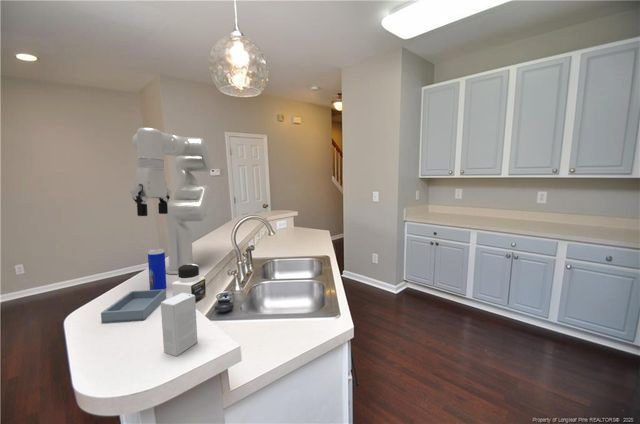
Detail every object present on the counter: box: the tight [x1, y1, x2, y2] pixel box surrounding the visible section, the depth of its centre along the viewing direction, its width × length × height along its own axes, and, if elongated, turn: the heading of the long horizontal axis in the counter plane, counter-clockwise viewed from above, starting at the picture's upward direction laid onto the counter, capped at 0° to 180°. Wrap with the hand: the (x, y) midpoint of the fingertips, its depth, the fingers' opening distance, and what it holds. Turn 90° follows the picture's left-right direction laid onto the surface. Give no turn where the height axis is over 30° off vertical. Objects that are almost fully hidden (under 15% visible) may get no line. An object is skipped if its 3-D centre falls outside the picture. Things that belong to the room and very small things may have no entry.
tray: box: [100, 288, 167, 324], centre depth 82 cm, size 16×11×3 cm
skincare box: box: [160, 293, 198, 357], centre depth 62 cm, size 6×4×12 cm
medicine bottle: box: [171, 263, 207, 305], centre depth 87 cm, size 7×7×12 cm
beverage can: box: [147, 248, 167, 290], centre depth 96 cm, size 5×5×15 cm
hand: (153, 214), depth 93 cm, fingers open, 9 cm apart
